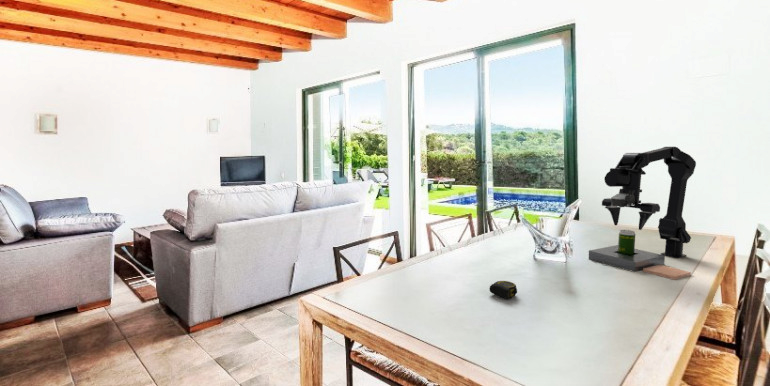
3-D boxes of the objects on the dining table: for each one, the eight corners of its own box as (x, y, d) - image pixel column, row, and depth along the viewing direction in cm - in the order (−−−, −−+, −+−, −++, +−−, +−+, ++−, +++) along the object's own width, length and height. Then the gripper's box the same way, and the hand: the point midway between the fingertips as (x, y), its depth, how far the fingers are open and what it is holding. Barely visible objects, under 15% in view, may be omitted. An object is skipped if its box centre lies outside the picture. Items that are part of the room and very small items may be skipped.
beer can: (635, 262, 150) (637, 231, 148) (630, 264, 146) (632, 233, 145) (620, 259, 154) (622, 229, 153) (614, 261, 151) (616, 231, 149)
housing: (617, 253, 162) (617, 245, 162) (664, 264, 146) (664, 255, 146) (588, 259, 154) (588, 250, 154) (635, 271, 138) (635, 262, 138)
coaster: (659, 267, 143) (659, 264, 143) (690, 274, 134) (690, 272, 134) (643, 271, 139) (643, 268, 139) (674, 279, 130) (674, 276, 130)
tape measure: (488, 295, 119) (488, 283, 118) (502, 290, 122) (503, 278, 122) (506, 302, 113) (506, 289, 113) (521, 296, 117) (521, 284, 116)
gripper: (594, 184, 152) (591, 224, 153) (644, 189, 135) (640, 233, 137) (612, 184, 157) (609, 222, 158) (662, 188, 140) (658, 231, 142)
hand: (627, 227), depth 149 cm, fingers open, 9 cm apart
